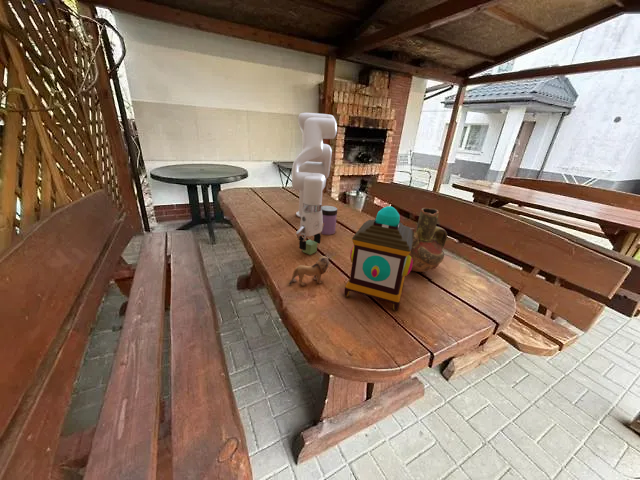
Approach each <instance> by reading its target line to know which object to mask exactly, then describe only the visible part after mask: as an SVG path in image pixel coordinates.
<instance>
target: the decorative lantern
mask: <svg viewBox="0 0 640 480" xmlns="http://www.w3.org/2000/svg"><path fill="white" fill-rule="evenodd" d="M400 219H401V217H400V213H399V212H398V210H397V209H396V208H395V207H393V206H391V205H387V206H385V207H382V208H381V209H380V210H379V211H378V212H377V214H376V217H375V218H374V219H368V220H366V221H365V222H363V224H361V226H360V228H359V229H358V230H357V231H356V233H355V234H354V235H353V236H352V238H351V240H352V244H353V245H352V248H351V249H350V253H349V259H350V262H351V268H350V269H351V270H350V275H349V276H350V277H349V279H348V281H347V283H346V284H345V286H344V289H343V291H344V292H343V295H344V296H345V297H349V296H350V292H352V293H355V294H356V293H357V294H360V295H364V296H367V297H370V298H374V299H377V300H381V301H385V302H387V303H391V304H393V305H392V307H393V308H392V309H393V311H395V312H396V311H398V310H399V307H400V303H401V298H402V293H403V288H404V285H405V284H404V283H405V278H406V276H408V275H409V274H410V273H411V271H412V270H411V269H412V264H413V260H412V257H411V256H410V255H409V253H410V252H411V248H412V243H413V238H414V232H413V230H412V229H410V228H411V227H410V226H407V225H404V224H403V223H402V222H401V220H400Z"/></svg>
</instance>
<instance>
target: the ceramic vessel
mask: <svg viewBox="0 0 640 480" xmlns="http://www.w3.org/2000/svg"><path fill="white" fill-rule="evenodd" d="M439 212H440V210H438V209H436V208H429V207H422V208H421V209H420V212H419V217H418V221H417V225H416V228H414V227H410V229H412V230H413V232H414V238H413V243H412V248H411V252H410V253H409V255H410V256H411V257H412V260H413V264H412V269H411V271H413V272H422V273H424V272H428V271H430V270H435V269H436V268H437V267H439V265H440V264H441V263H442V262H443V261H444V258H445V251H443V250H444V247H445V244H446V242H447V239H448V233H447V231H446V230H445V229H444V228H442V227H440V226H437V224H438V220H439Z"/></svg>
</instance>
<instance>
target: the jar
mask: <svg viewBox="0 0 640 480" xmlns="http://www.w3.org/2000/svg"><path fill="white" fill-rule="evenodd" d="M322 215H323V214H322ZM337 217H338V213H337V214H336V215H333V216H328V215H323V223H324V227H323V230H322V234H321V235H326V236H327V235H329V236H330V235H334V234H335V233H336V226H337Z"/></svg>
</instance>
